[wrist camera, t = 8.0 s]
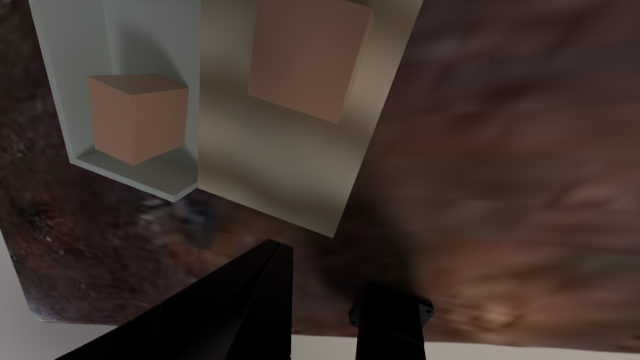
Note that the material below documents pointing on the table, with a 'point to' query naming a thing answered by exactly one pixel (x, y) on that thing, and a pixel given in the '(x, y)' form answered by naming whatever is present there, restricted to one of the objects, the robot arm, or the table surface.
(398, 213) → the table surface
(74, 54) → the tray
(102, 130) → the tile
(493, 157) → the table surface
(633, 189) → the table surface
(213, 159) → the beige flat panel
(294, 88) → the tile
